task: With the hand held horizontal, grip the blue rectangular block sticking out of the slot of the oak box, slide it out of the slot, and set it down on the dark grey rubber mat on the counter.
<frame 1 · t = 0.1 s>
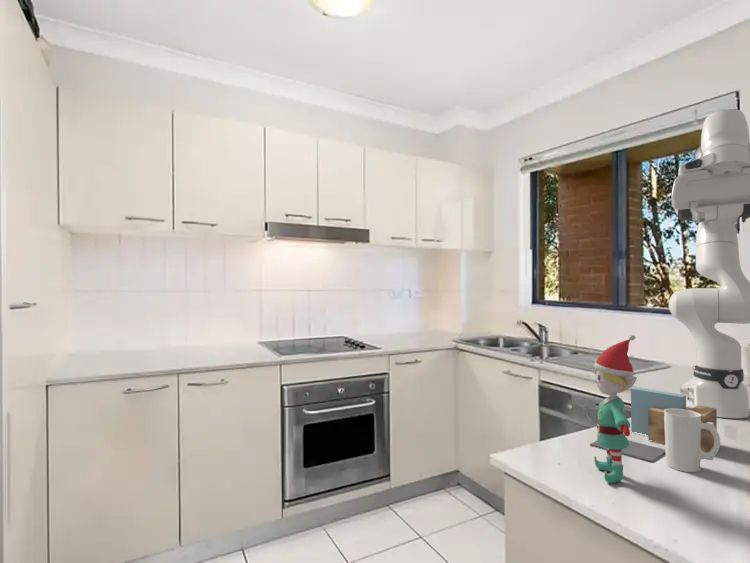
hand: (728, 219, 94), 54 cm above the counter, tool tilted 30°, fingers open, 8 cm apart
blue rectangular block: (658, 437, 118), resting in slot box
mat: (628, 448, 109), on the counter
slot box: (682, 442, 113), on the counter
mug: (691, 469, 97), on the counter
toy: (616, 477, 94), on the counter
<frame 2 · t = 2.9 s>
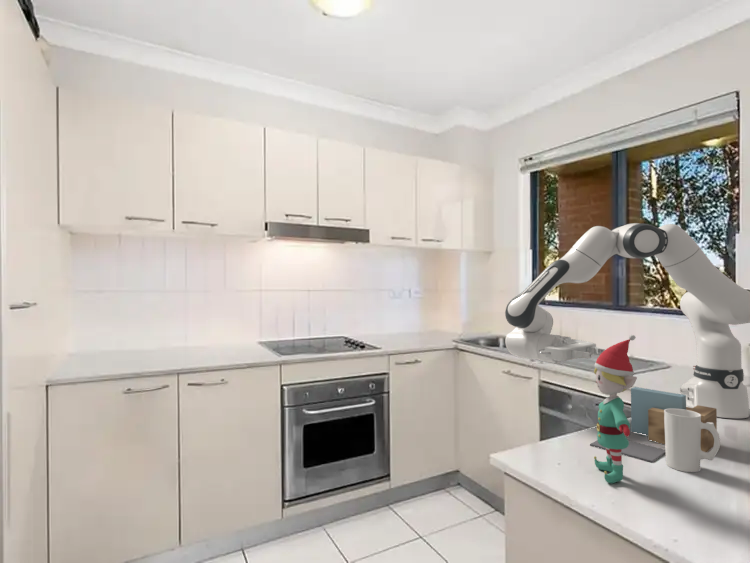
hand: (597, 354, 130), 20 cm above the counter, tool horizontal, fingers open, 8 cm apart
nothing on the counter moved.
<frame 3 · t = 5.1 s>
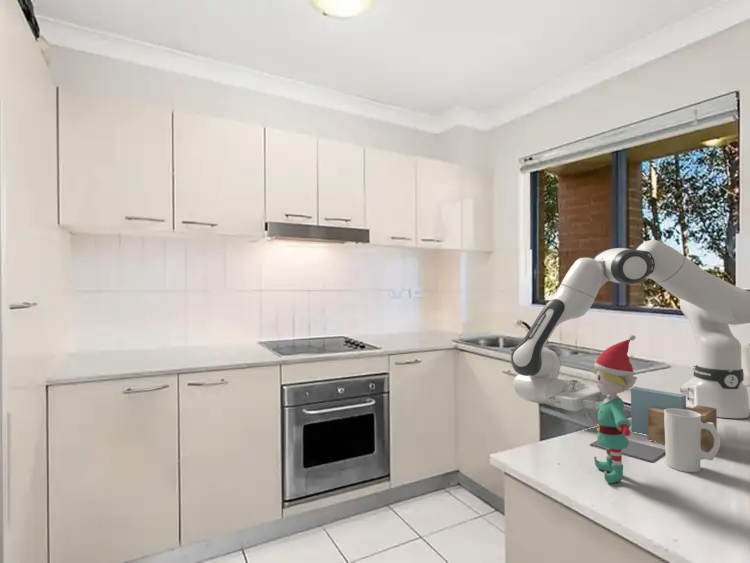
hand: (608, 403, 128), 6 cm above the counter, tool horizontal, fingers open, 8 cm apart
nothing on the counter moved.
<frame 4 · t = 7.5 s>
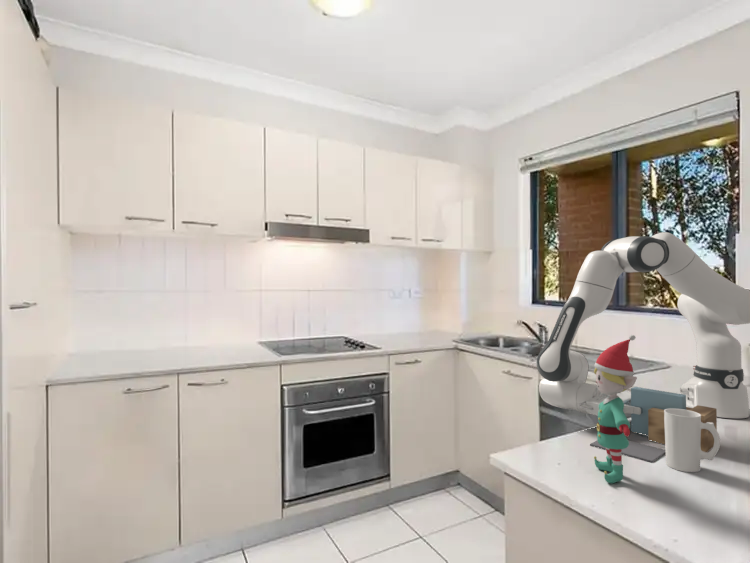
hand: (644, 409, 120), 7 cm above the counter, tool horizontal, fingers closed on blue rectangular block, 3 cm apart
blue rectangular block: (658, 436, 118), resting in slot box, touching gripper
everything else where it was.
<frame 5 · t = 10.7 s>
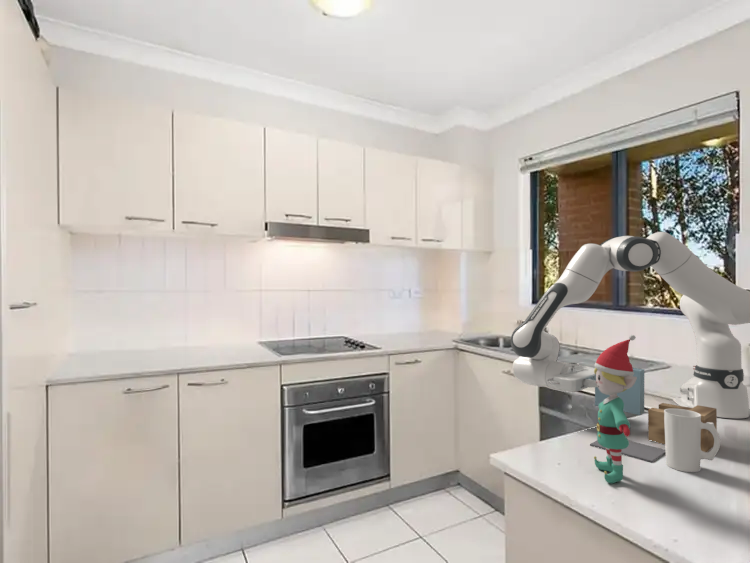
hand: (607, 383, 128), 12 cm above the counter, tool horizontal, fingers closed on blue rectangular block, 3 cm apart
blue rectangular block: (618, 408, 126), point 5 cm above the counter, touching gripper
everything else where it was.
when the fingers open (8 cm above the counter, at t = 14.2 s): blue rectangular block stays where it is, resting on mat.
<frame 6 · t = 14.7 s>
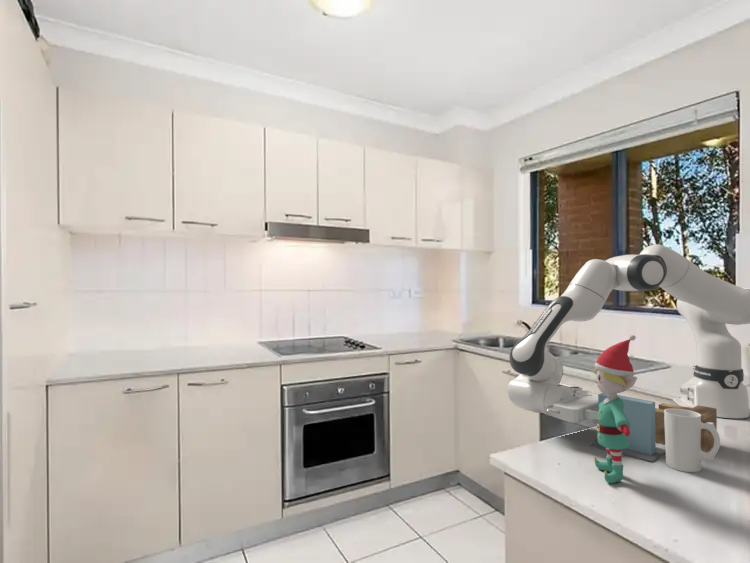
hand: (614, 413, 112), 8 cm above the counter, tool horizontal, fingers open, 8 cm apart
blue rectangular block: (626, 446, 110), resting on mat
everything else where it was.
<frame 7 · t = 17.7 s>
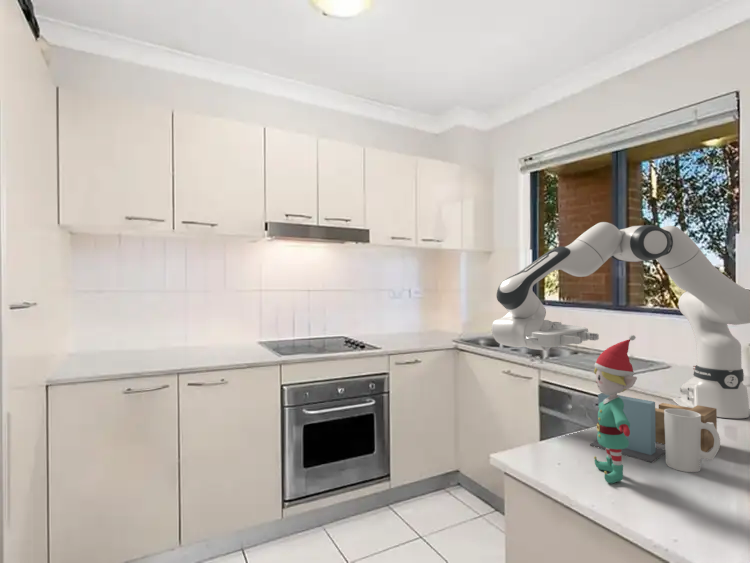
hand: (589, 338, 119), 26 cm above the counter, tool horizontal, fingers open, 8 cm apart
nothing on the counter moved.
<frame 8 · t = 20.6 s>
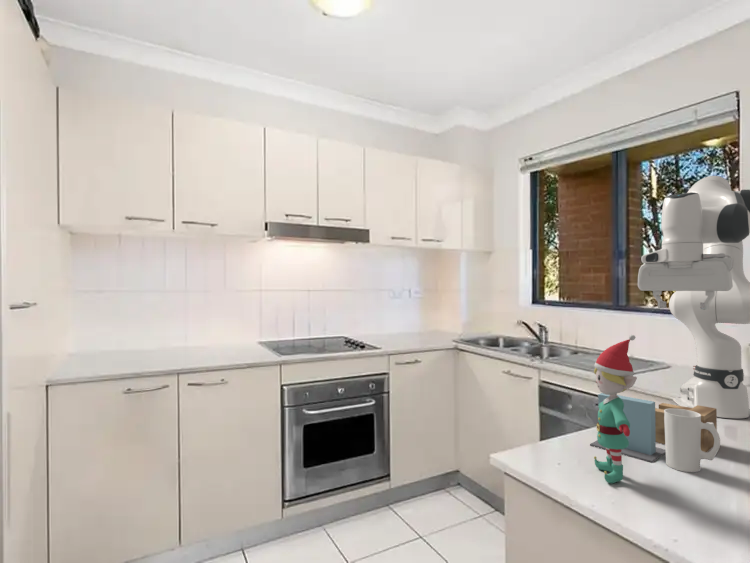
hand: (682, 308, 114), 34 cm above the counter, tool pointing down, fingers open, 8 cm apart
nothing on the counter moved.
at the end: blue rectangular block inside the target area on the mat (0.4 cm from its centre), point 0.4 cm above the mat's base; blue rectangular block moved 15.1 cm from its start; the gripper is holding nothing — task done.
